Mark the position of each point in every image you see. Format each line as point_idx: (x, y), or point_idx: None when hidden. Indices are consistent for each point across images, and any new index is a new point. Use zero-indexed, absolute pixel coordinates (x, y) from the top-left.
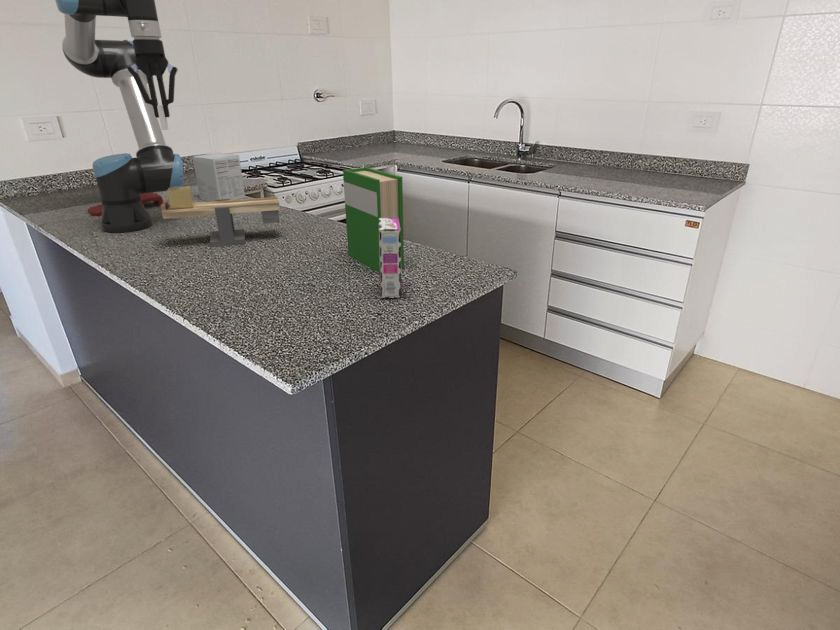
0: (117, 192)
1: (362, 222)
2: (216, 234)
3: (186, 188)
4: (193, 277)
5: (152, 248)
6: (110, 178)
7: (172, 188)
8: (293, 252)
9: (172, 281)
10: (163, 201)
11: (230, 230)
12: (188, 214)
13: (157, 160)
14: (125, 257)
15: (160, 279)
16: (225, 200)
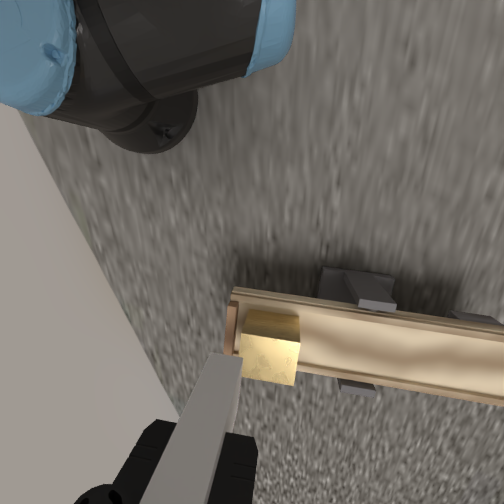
0: (94, 126)
1: None
2: (330, 296)
3: (286, 373)
4: (271, 463)
5: (210, 299)
6: (53, 117)
7: (250, 354)
8: (441, 433)
9: None
10: (227, 314)
11: None
12: None
13: (187, 25)
14: (172, 331)
15: None
16: (382, 309)
